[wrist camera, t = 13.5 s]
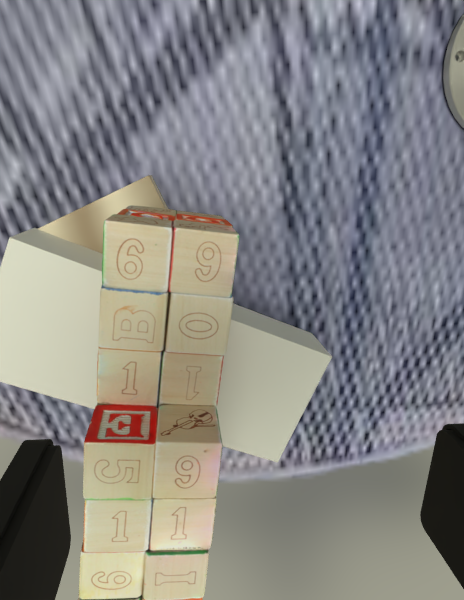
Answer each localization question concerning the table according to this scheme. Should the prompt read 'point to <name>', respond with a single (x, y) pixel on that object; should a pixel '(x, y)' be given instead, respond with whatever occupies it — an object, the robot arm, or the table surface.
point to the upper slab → (85, 342)
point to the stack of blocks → (156, 405)
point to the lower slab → (104, 213)
